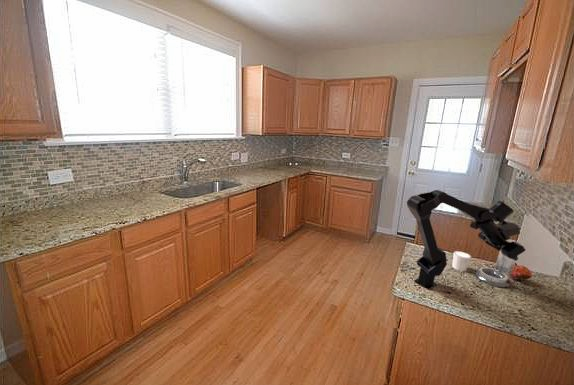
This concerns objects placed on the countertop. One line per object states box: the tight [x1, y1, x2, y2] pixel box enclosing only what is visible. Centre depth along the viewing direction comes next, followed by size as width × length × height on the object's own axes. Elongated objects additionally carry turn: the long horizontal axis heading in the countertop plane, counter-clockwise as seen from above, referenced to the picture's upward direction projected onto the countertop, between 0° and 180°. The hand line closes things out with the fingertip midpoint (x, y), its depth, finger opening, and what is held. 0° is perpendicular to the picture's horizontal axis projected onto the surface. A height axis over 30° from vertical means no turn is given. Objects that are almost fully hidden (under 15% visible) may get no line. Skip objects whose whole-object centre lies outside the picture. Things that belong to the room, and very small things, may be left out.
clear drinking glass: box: [494, 238, 522, 275], centre depth 107 cm, size 6×6×13 cm
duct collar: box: [474, 266, 511, 289], centre depth 114 cm, size 12×12×3 cm
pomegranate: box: [508, 262, 533, 286], centre depth 113 cm, size 7×7×10 cm
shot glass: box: [451, 250, 472, 272], centre depth 121 cm, size 7×7×7 cm
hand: (511, 256), depth 106 cm, fingers closed on clear drinking glass, 6 cm apart
